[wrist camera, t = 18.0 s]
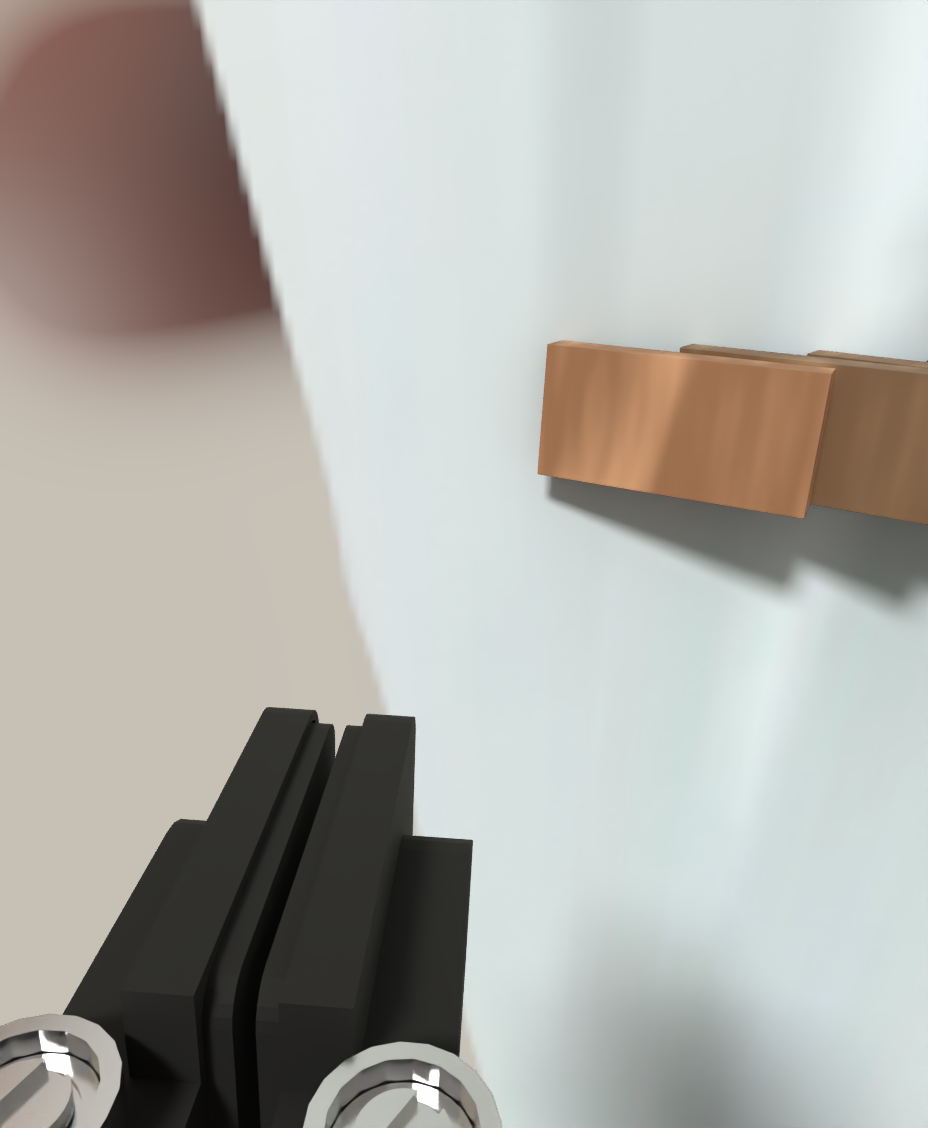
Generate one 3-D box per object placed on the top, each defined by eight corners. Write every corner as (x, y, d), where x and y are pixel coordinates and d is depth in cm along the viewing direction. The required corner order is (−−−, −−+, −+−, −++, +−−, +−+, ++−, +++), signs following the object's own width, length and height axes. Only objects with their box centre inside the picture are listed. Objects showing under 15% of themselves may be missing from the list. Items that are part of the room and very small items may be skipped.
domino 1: (562, 340, 34) (835, 368, 30) (551, 465, 36) (809, 507, 32) (547, 344, 33) (831, 374, 29) (537, 474, 35) (803, 518, 31)
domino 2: (692, 343, 34) (985, 374, 30) (675, 469, 36) (949, 516, 32) (680, 347, 33) (984, 380, 28) (663, 477, 35) (947, 528, 30)
